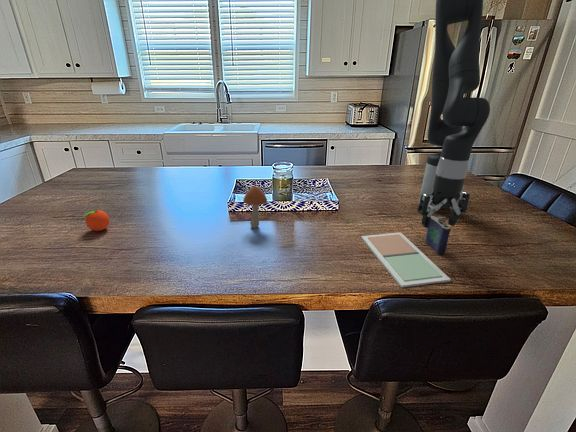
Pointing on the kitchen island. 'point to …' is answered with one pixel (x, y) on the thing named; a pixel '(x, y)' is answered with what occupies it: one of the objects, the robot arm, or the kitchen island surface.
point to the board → (404, 260)
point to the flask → (437, 235)
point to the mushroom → (255, 203)
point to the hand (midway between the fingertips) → (438, 225)
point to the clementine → (97, 220)
